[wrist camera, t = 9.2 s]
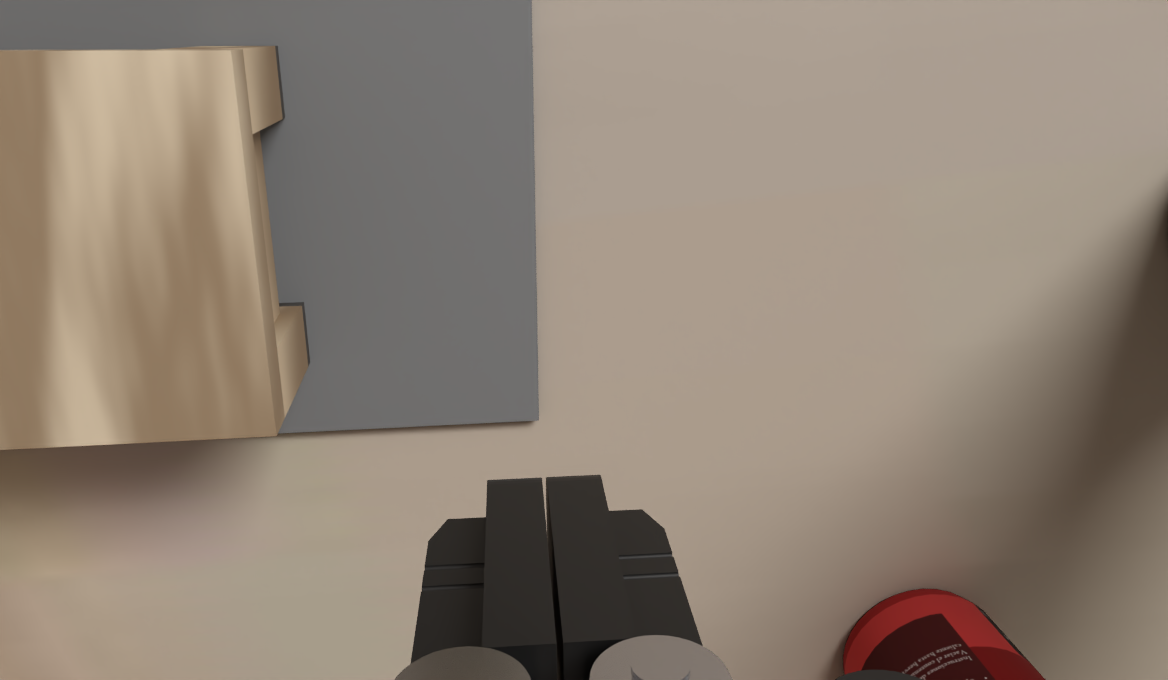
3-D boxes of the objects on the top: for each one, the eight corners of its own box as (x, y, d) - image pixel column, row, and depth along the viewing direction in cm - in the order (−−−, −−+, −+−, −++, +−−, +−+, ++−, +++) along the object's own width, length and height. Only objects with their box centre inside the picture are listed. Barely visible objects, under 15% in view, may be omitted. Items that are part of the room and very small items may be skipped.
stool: (310, 362, 37) (-13, 376, 35) (277, 45, 33) (-86, 46, 31) (276, 435, 30) (-122, 456, 29) (230, 50, 26) (-232, 51, 25)
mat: (529, -43, 33) (530, -44, 33) (537, 415, 39) (538, 420, 39) (-162, -49, 31) (-172, -50, 30) (-43, 444, 36) (-50, 449, 36)
